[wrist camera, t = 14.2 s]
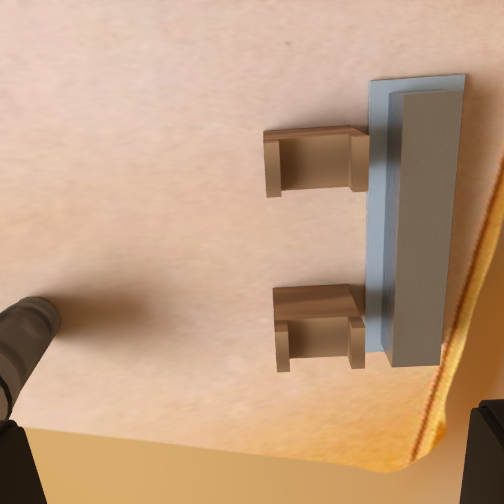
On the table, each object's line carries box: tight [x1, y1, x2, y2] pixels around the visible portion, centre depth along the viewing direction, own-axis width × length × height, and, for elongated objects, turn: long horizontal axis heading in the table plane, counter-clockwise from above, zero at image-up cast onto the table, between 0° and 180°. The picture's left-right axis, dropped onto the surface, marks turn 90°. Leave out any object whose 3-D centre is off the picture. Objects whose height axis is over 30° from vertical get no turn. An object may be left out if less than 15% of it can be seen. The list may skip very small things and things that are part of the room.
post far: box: [273, 284, 366, 372], centre depth 38 cm, size 4×7×8 cm, turn 94°
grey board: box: [364, 74, 465, 352], centre depth 39 cm, size 24×7×1 cm, turn 4°
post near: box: [263, 125, 370, 198], centre depth 33 cm, size 4×7×8 cm, turn 94°
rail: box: [380, 89, 464, 367], centre depth 36 cm, size 22×4×4 cm, turn 4°
